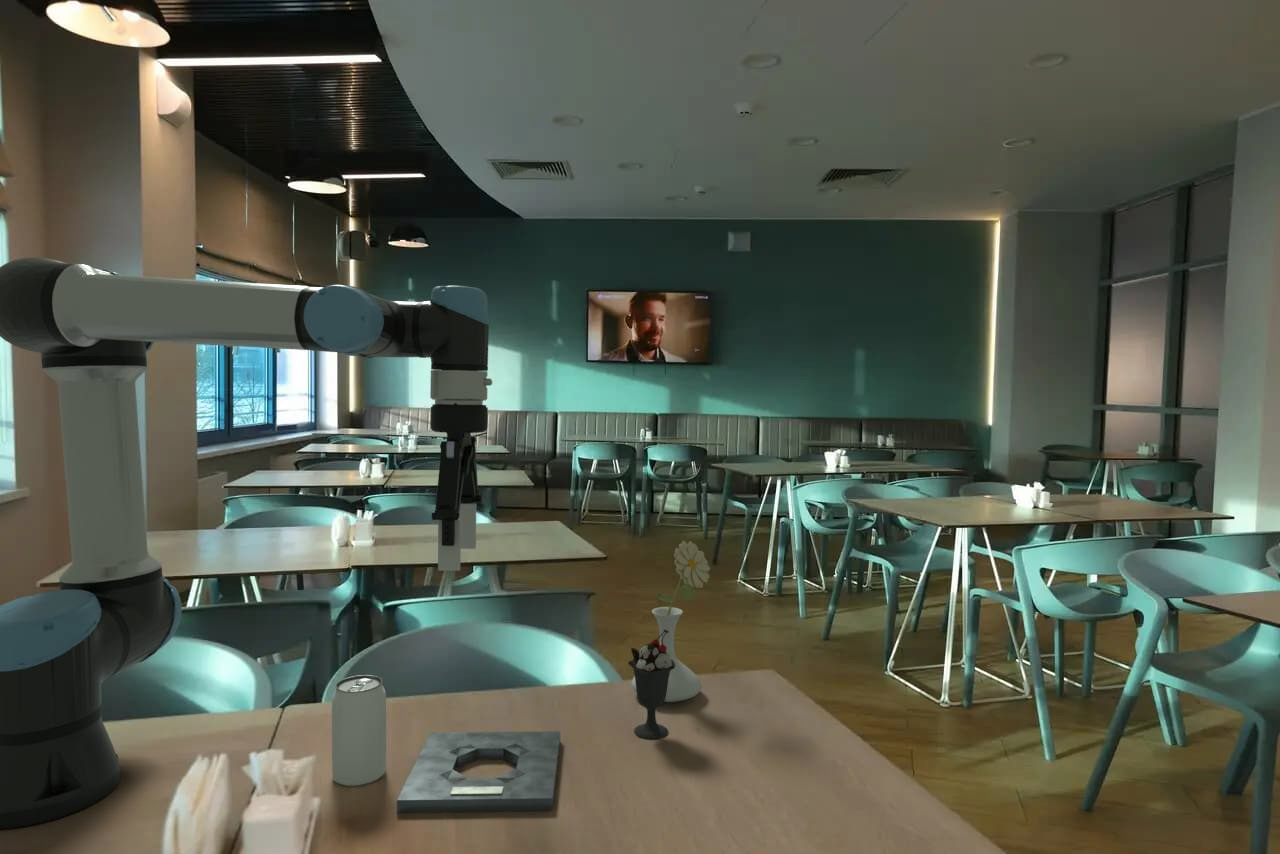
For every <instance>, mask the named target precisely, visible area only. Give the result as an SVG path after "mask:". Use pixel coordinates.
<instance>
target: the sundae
mask: <svg viewBox="0 0 1280 854" xmlns="http://www.w3.org/2000/svg"><path fill="white" fill-rule="evenodd" d="M664 632H666V633H668V631H667V630H664ZM664 632H663V633H664ZM663 633H662V634H663ZM666 633H665V634H666ZM662 634H661V635H662ZM665 634H664V635H663V637H664V636H665ZM661 635H660V634H659V636H658V637H657V638H654V639H652V640H651V642H650V643H645V645H643V646H642V647H641V648H640V650H639V649H637V648H635V647H631V648H630V649H631V653H632V656H633V658H632V659H631V660H630V661H628V664H627V665H629V667H631V668H632V669H633V675H634V676H635V682H636V691H637V693H636V695H637V696H636V697H637V700H638V701H639V703H640V704H641V705H642V706H643V707H644V708H646V710H647V711H646V715H647V716H646V721H645V723H643V724H640V725H637V726H635V728H634V730H633V732H634V734H635V735H636V736H638V737H639V738H641V739H645V740H658V739H663V738H664V737H666V736H667V735H668V733H669V729H668V728H667V727H666V726H664V725H662V724H659V723H657V718H656V710H657V709H658V708H659V707H661V706H662V705H663V703H665V702H664V701H665V698H666V693H667V687H668V679H669V674H670V671H671V670H672V669H674V668H675V663H674V661H673V660H672V659H671V658H670V655H669V654H667V652H666V649H667V647H666V646H665V645H663V637H662V645H660V636H661Z"/></svg>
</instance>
